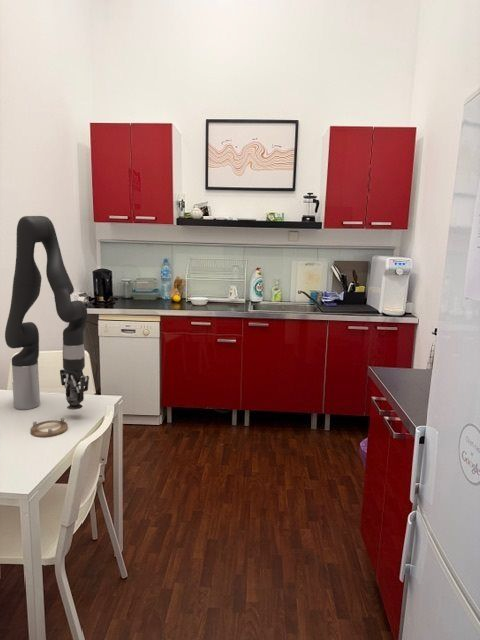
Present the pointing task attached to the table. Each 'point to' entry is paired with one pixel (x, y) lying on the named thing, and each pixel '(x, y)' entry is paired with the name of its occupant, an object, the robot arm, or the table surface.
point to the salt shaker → (73, 398)
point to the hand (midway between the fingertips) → (74, 399)
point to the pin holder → (49, 428)
